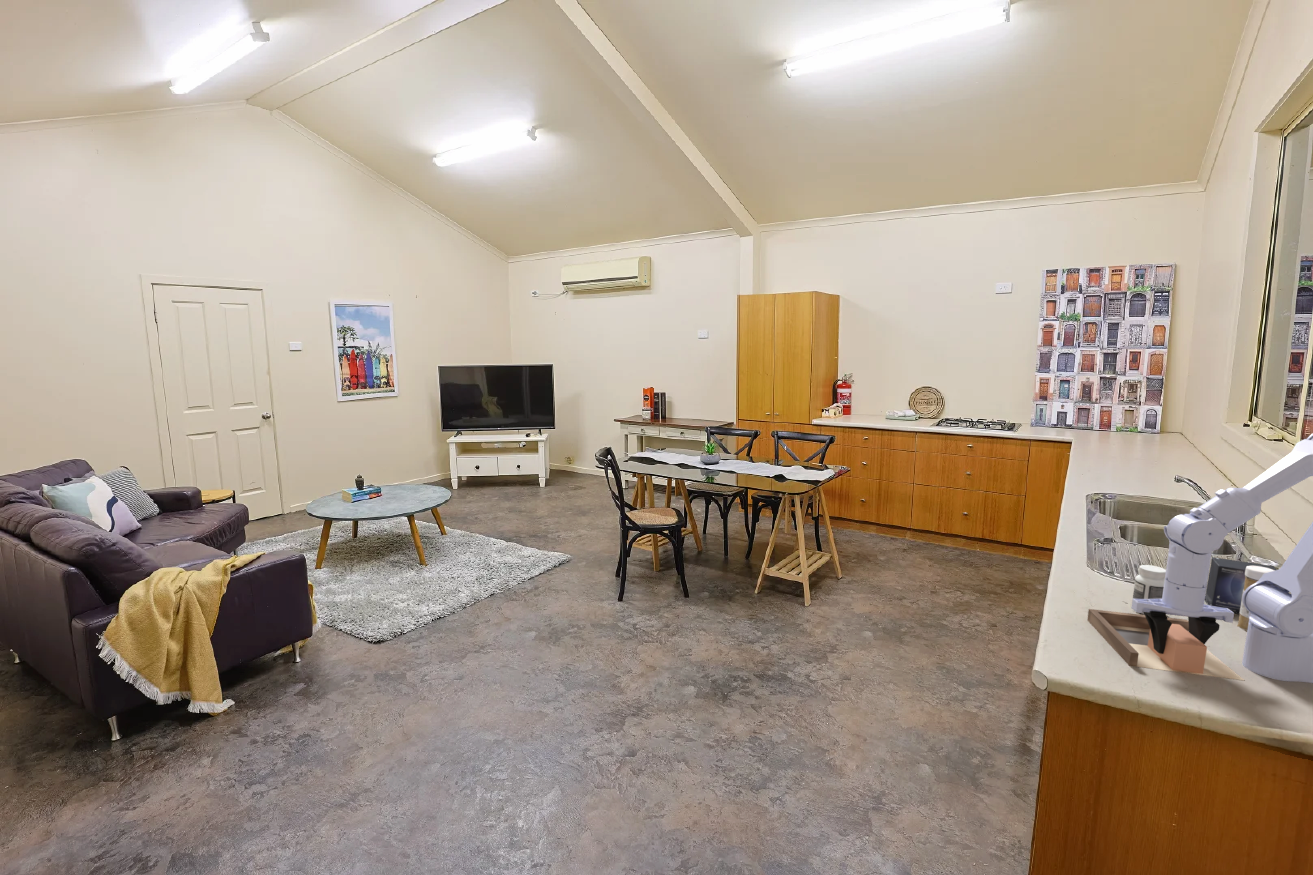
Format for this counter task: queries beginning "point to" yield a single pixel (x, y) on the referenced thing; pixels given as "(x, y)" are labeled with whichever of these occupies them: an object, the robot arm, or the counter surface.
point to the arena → (1145, 642)
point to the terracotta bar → (1182, 650)
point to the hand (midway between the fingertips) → (1175, 653)
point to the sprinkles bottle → (1251, 577)
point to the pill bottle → (1149, 582)
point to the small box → (1227, 583)
